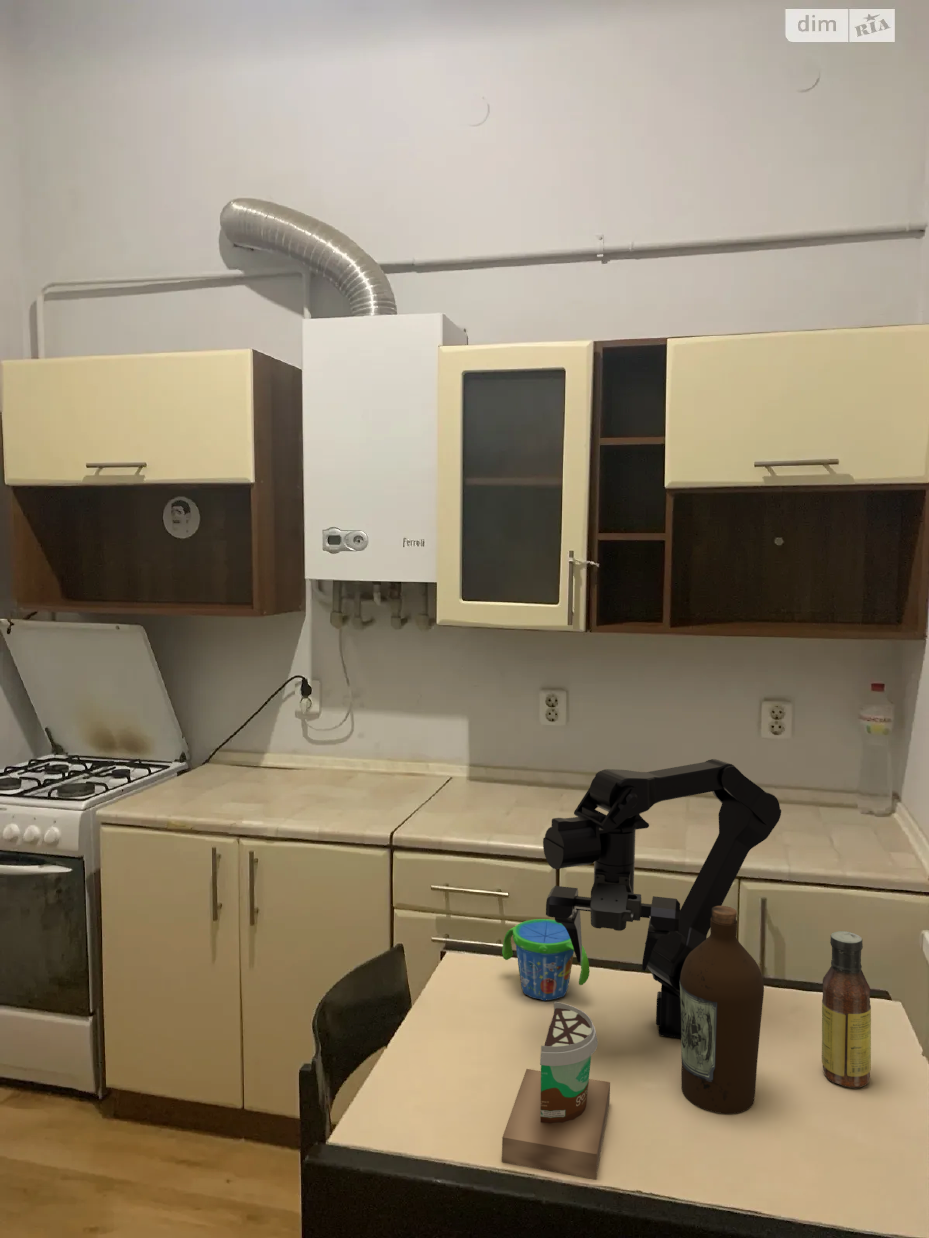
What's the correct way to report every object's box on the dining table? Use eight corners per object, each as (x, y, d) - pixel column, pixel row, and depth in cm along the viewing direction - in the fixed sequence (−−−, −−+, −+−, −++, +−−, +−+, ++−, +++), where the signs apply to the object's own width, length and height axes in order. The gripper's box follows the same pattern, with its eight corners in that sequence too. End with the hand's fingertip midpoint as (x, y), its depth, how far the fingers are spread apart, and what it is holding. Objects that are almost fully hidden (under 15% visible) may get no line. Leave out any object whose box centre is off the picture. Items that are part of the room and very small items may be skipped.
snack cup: (487, 985, 151) (488, 925, 151) (528, 965, 159) (529, 908, 158) (561, 1019, 140) (563, 955, 140) (602, 997, 148) (603, 935, 147)
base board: (609, 1104, 119) (610, 1081, 119) (596, 1179, 104) (596, 1153, 104) (526, 1090, 122) (526, 1068, 121) (501, 1161, 107) (502, 1136, 107)
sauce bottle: (870, 1071, 127) (877, 932, 126) (869, 1095, 122) (876, 949, 121) (820, 1060, 130) (826, 923, 129) (817, 1082, 125) (823, 940, 123)
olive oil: (722, 1064, 129) (728, 890, 127) (777, 1105, 119) (784, 918, 117) (660, 1081, 124) (666, 901, 123) (712, 1125, 115) (719, 931, 113)
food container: (590, 1138, 107) (592, 1055, 106) (538, 1129, 108) (540, 1047, 108) (600, 1080, 119) (602, 1005, 118) (553, 1073, 120) (555, 999, 120)
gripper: (540, 871, 126) (537, 981, 127) (679, 885, 121) (675, 1000, 122) (553, 846, 137) (550, 948, 138) (681, 859, 132) (678, 964, 133)
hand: (611, 965), depth 132 cm, fingers open, 9 cm apart
